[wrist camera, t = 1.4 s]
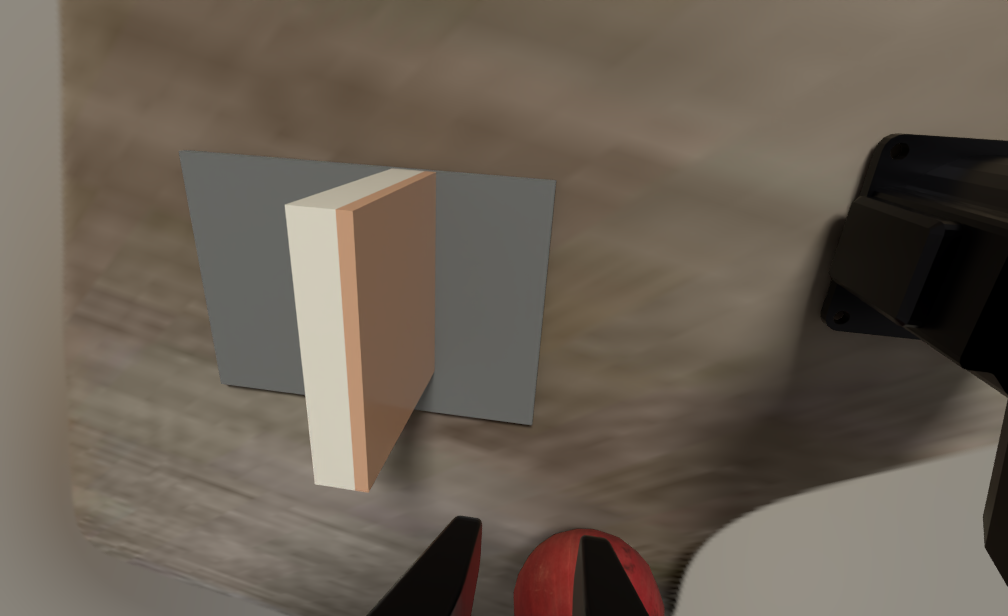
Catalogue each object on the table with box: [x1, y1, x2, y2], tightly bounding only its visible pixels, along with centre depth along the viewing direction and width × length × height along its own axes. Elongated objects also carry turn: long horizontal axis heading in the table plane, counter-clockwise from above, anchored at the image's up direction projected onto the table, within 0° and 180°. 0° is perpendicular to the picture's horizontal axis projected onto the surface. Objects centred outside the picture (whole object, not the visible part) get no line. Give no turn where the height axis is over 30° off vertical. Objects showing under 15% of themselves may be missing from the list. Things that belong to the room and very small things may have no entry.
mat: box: [179, 150, 556, 425], centre depth 20 cm, size 14×10×1 cm
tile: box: [285, 169, 436, 492], centre depth 16 cm, size 2×8×7 cm, turn 176°
